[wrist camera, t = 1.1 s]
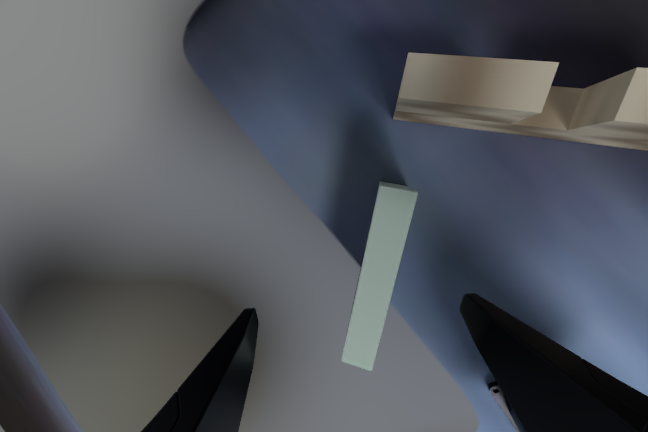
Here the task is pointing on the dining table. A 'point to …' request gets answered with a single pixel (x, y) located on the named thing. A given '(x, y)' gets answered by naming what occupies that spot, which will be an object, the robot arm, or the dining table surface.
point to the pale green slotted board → (378, 272)
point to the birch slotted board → (523, 100)
